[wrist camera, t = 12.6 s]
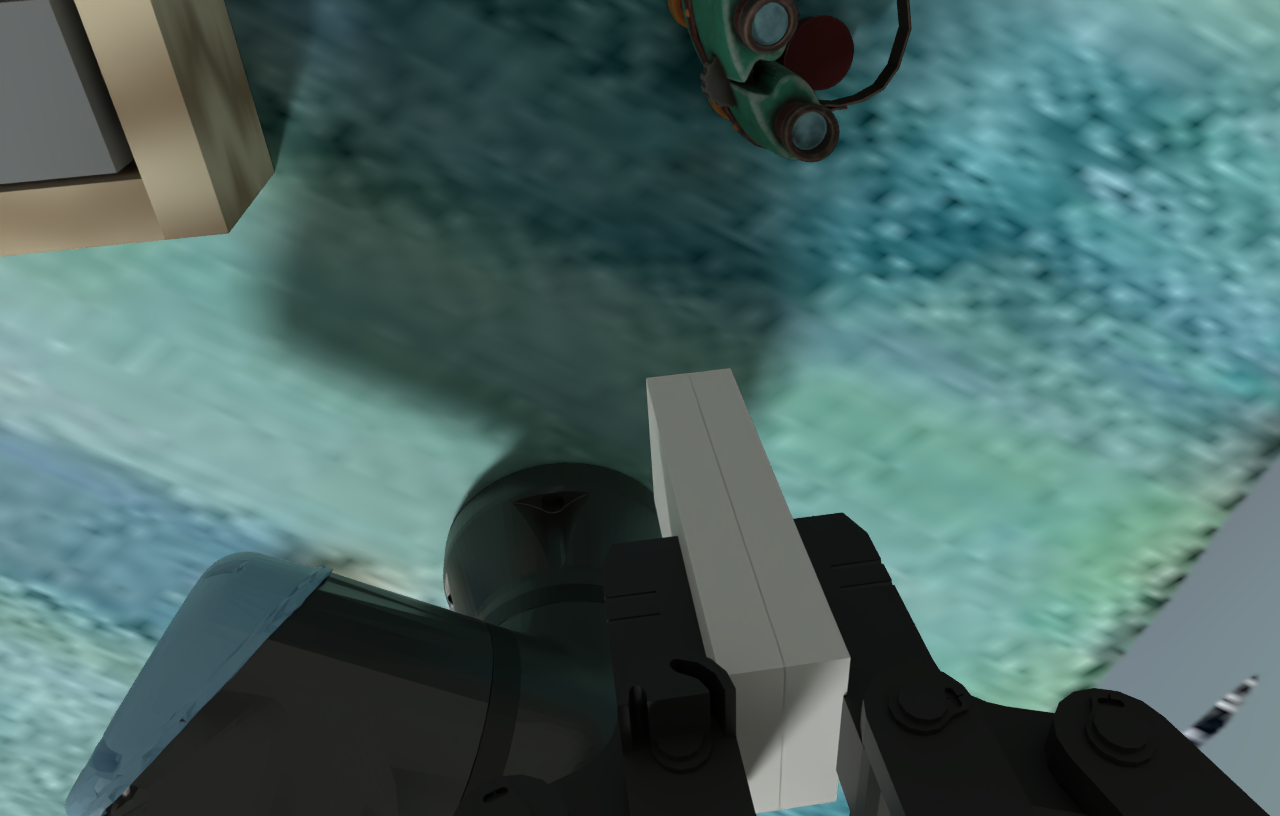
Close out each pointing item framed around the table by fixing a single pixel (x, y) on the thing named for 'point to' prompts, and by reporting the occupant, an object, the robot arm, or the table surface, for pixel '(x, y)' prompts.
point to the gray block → (53, 97)
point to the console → (154, 136)
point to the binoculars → (778, 69)
